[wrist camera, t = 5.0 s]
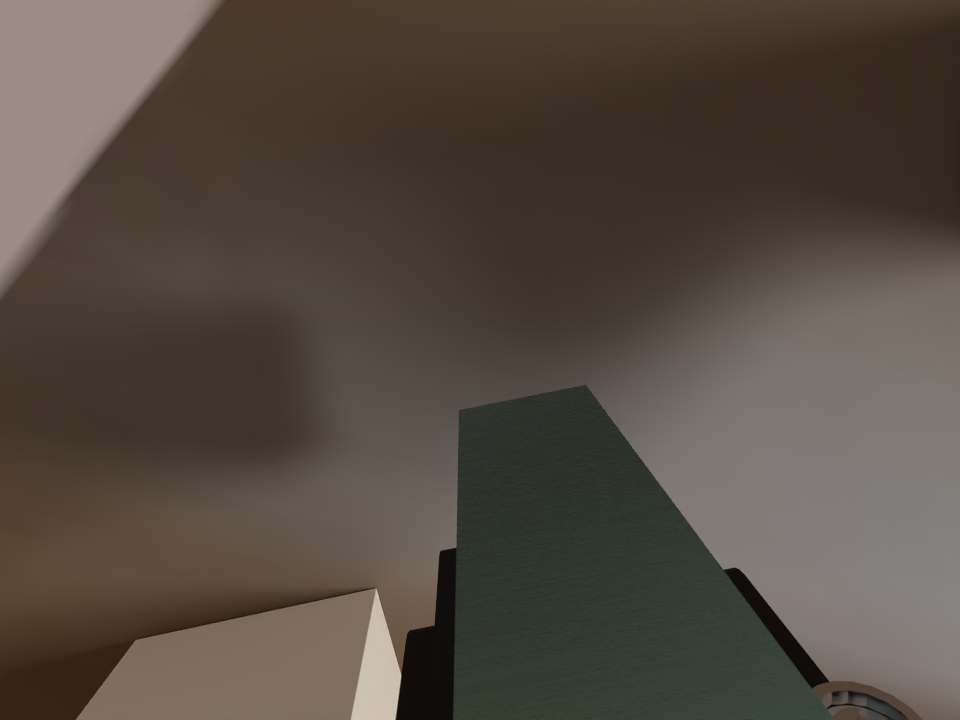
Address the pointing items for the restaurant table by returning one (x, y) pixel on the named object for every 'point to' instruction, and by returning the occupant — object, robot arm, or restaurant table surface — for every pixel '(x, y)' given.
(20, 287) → the restaurant table surface
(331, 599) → the white slotted box
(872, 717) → the robot arm
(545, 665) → the teal block
